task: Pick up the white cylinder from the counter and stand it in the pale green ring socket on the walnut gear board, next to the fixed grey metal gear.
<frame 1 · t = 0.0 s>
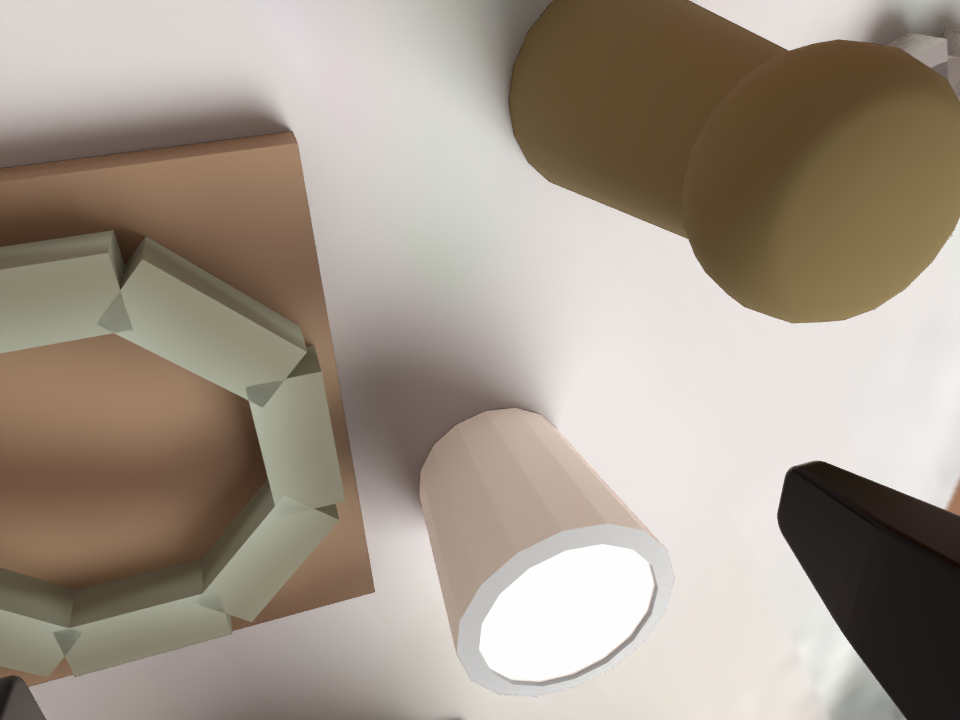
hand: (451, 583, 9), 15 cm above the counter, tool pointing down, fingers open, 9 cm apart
white cylinder: (491, 469, 28), on the counter
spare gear: (895, 143, 26), on the counter
brown pepper mill: (604, 89, 22), on the counter
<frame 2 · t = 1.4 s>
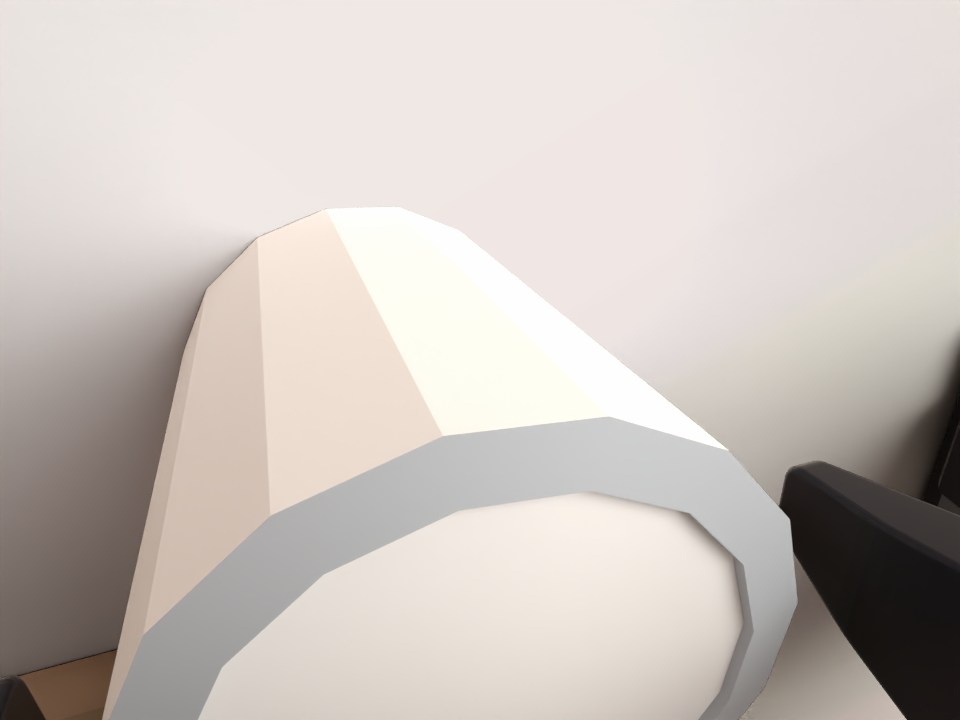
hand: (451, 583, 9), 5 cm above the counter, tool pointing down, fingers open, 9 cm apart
white cylinder: (359, 359, 13), on the counter
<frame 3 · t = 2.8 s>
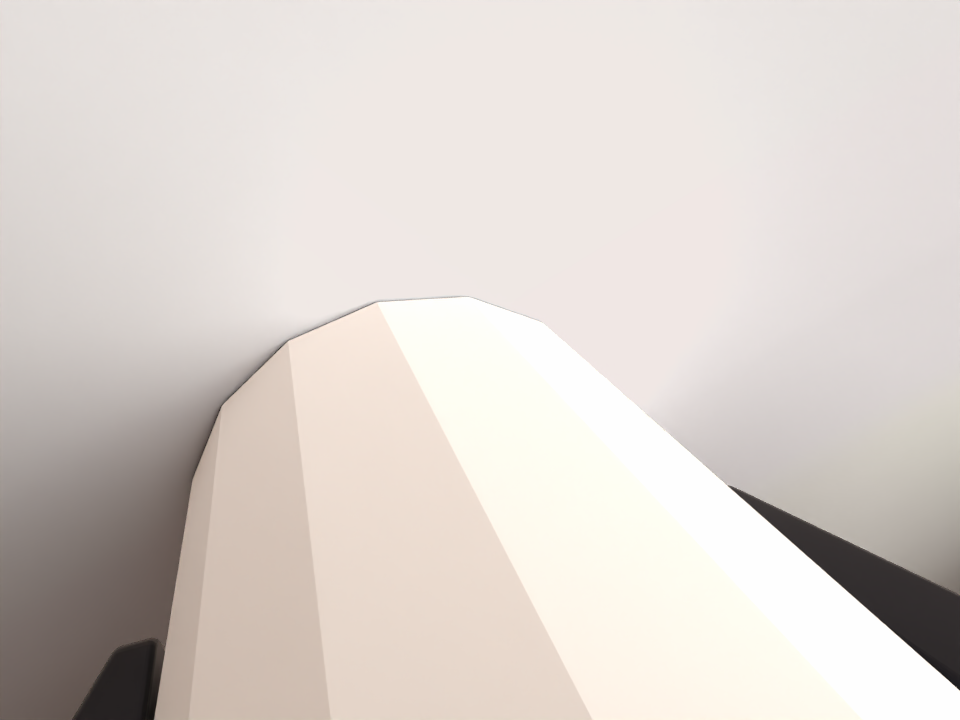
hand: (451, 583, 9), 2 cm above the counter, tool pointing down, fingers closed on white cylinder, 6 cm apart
white cylinder: (410, 476, 11), on the counter, touching gripper
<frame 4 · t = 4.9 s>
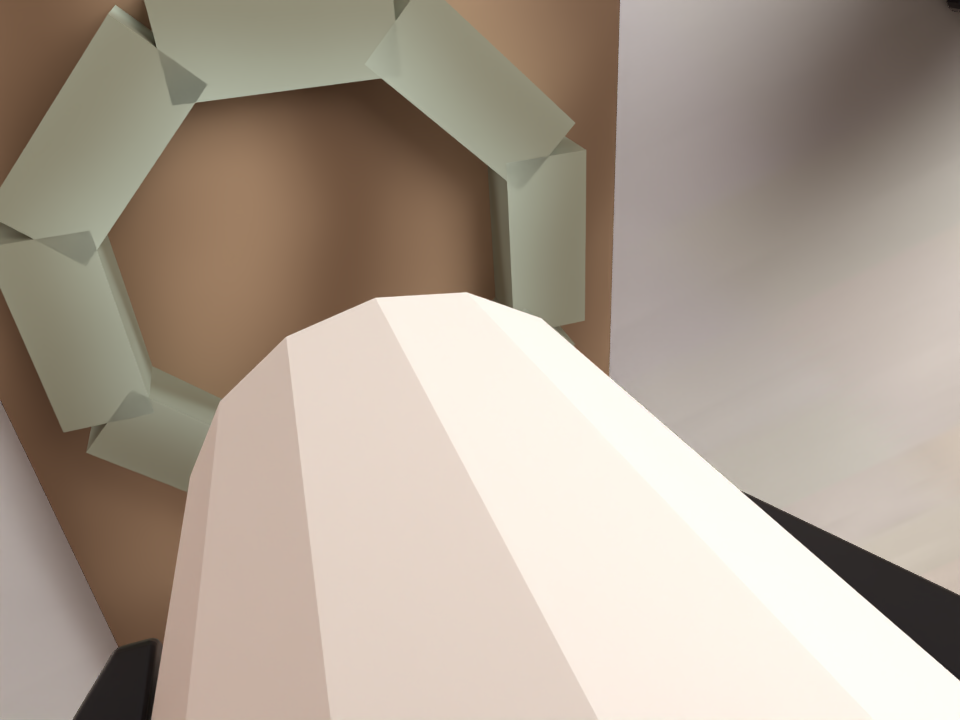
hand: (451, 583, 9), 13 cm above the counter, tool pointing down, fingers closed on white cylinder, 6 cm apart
white cylinder: (409, 473, 11), point 11 cm above the counter, touching gripper
gear board: (344, 403, 23), on the counter
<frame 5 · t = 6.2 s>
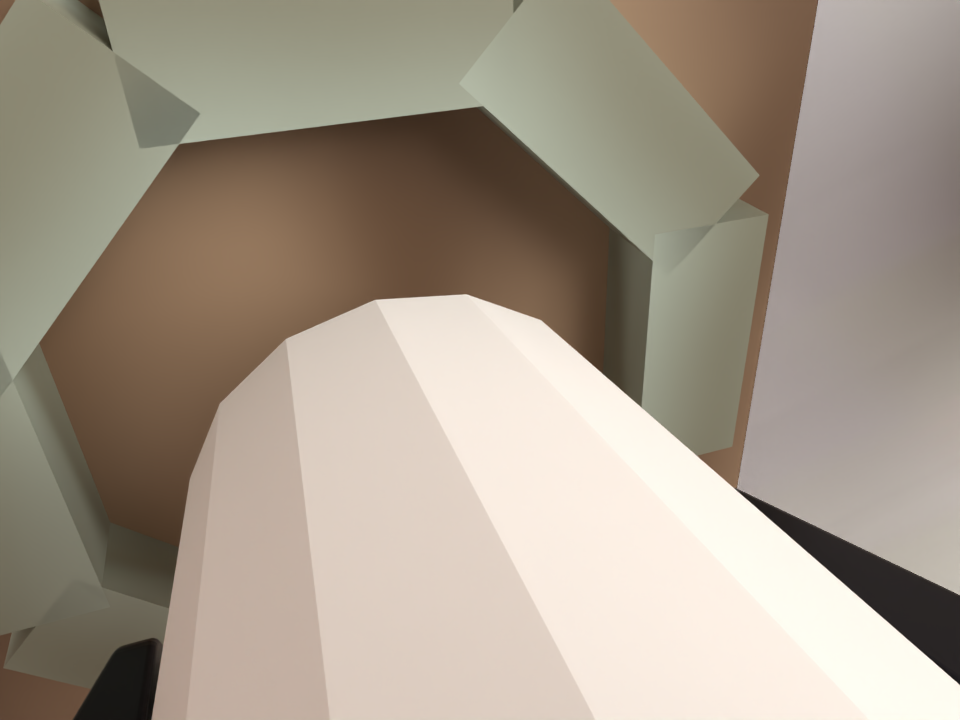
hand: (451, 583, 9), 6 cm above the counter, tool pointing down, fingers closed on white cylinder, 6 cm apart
white cylinder: (409, 475, 11), point 4 cm above the counter, touching gripper
gear board: (380, 542, 17), on the counter
when the fingers open (5 cm above the counter, at t = 7.3 s): white cylinder drops 2 cm, resting on gear board.
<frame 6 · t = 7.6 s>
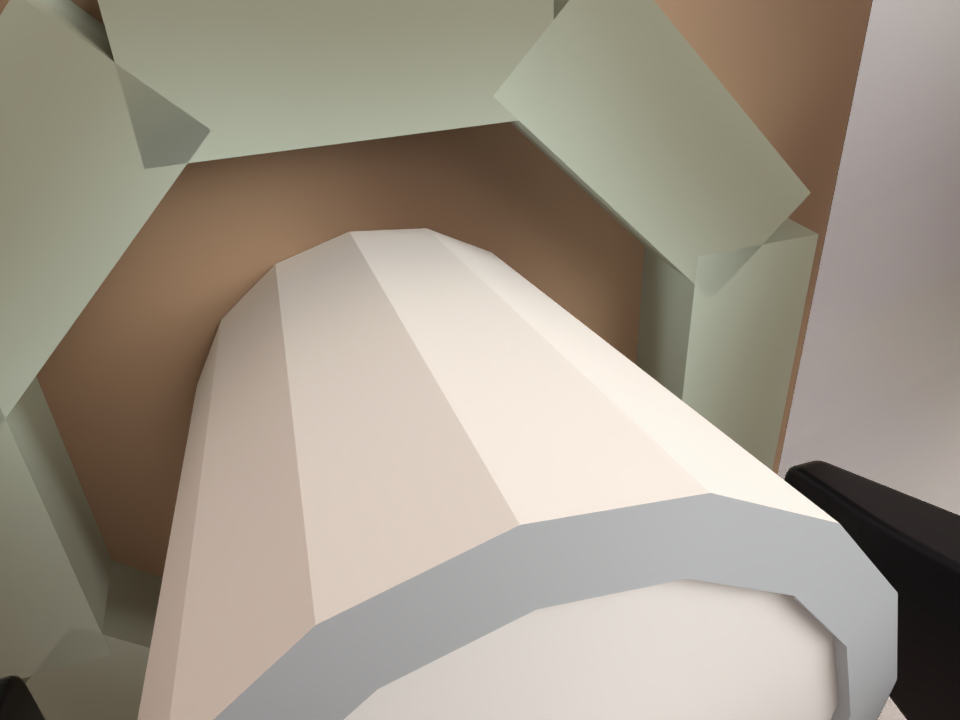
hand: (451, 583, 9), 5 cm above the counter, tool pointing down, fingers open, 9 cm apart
white cylinder: (383, 390, 12), point 1 cm above the counter, touching gear board
gear board: (396, 572, 16), on the counter
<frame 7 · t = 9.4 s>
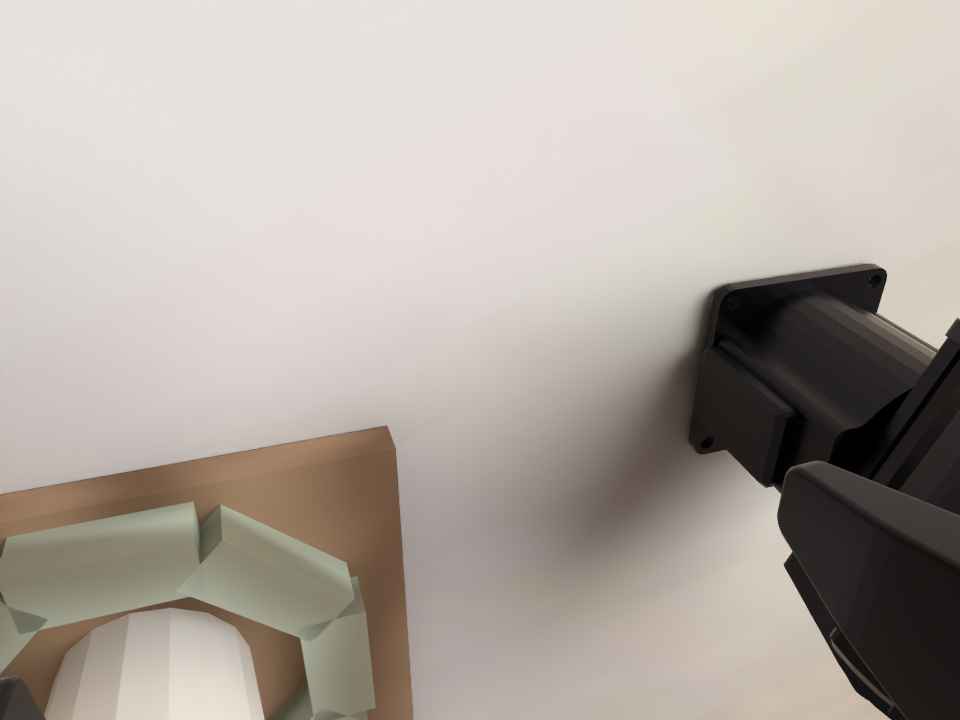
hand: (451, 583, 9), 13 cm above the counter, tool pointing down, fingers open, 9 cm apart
white cylinder: (157, 669, 24), point 1 cm above the counter, touching gear board
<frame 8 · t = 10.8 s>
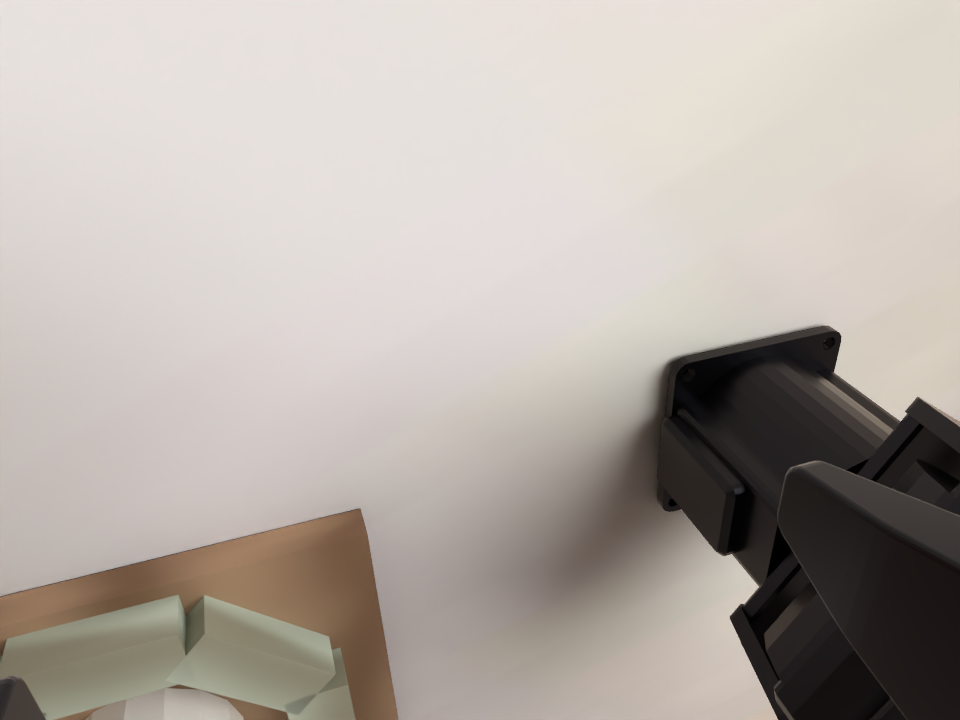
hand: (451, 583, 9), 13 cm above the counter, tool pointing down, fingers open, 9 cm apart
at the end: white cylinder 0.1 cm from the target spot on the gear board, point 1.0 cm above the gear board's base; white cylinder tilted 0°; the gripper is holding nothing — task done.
